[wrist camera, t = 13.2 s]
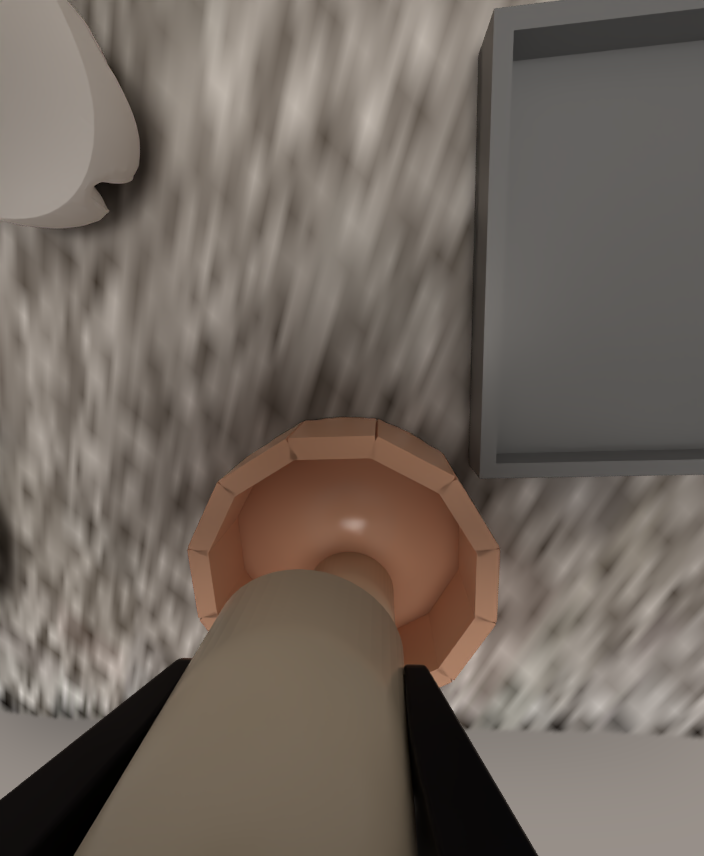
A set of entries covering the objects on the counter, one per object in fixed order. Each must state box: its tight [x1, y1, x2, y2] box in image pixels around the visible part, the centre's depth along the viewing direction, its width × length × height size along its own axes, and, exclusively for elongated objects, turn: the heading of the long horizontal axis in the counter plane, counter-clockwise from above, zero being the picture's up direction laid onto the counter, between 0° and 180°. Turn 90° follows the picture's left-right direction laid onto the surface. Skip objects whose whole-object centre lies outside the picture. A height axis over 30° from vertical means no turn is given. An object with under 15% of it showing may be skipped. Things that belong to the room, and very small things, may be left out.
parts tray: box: [469, 0, 704, 479], centre depth 13 cm, size 15×15×2 cm
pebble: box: [74, 569, 418, 856], centre depth 5 cm, size 4×4×4 cm
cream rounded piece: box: [314, 552, 395, 623], centre depth 15 cm, size 4×4×4 cm
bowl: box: [187, 417, 500, 687], centre depth 15 cm, size 12×12×4 cm
